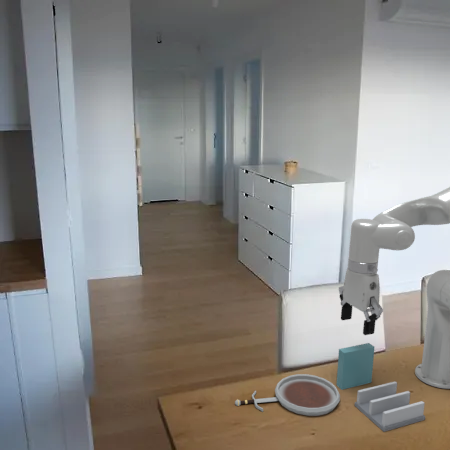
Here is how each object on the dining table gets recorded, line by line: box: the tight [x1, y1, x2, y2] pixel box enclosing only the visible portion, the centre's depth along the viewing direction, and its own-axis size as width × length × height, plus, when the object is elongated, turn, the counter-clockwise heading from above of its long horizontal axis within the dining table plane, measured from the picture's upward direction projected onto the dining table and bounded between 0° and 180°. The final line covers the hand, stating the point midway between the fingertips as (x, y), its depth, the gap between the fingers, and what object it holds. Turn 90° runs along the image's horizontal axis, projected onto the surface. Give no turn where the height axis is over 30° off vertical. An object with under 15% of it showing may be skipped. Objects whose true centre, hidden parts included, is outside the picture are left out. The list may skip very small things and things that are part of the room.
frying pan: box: [234, 373, 341, 417], centre depth 125 cm, size 17×3×28 cm
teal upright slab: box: [336, 342, 375, 390], centre depth 131 cm, size 10×2×11 cm, turn 112°
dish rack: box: [354, 381, 426, 433], centre depth 119 cm, size 13×11×4 cm
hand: (356, 326), depth 129 cm, fingers open, 9 cm apart
